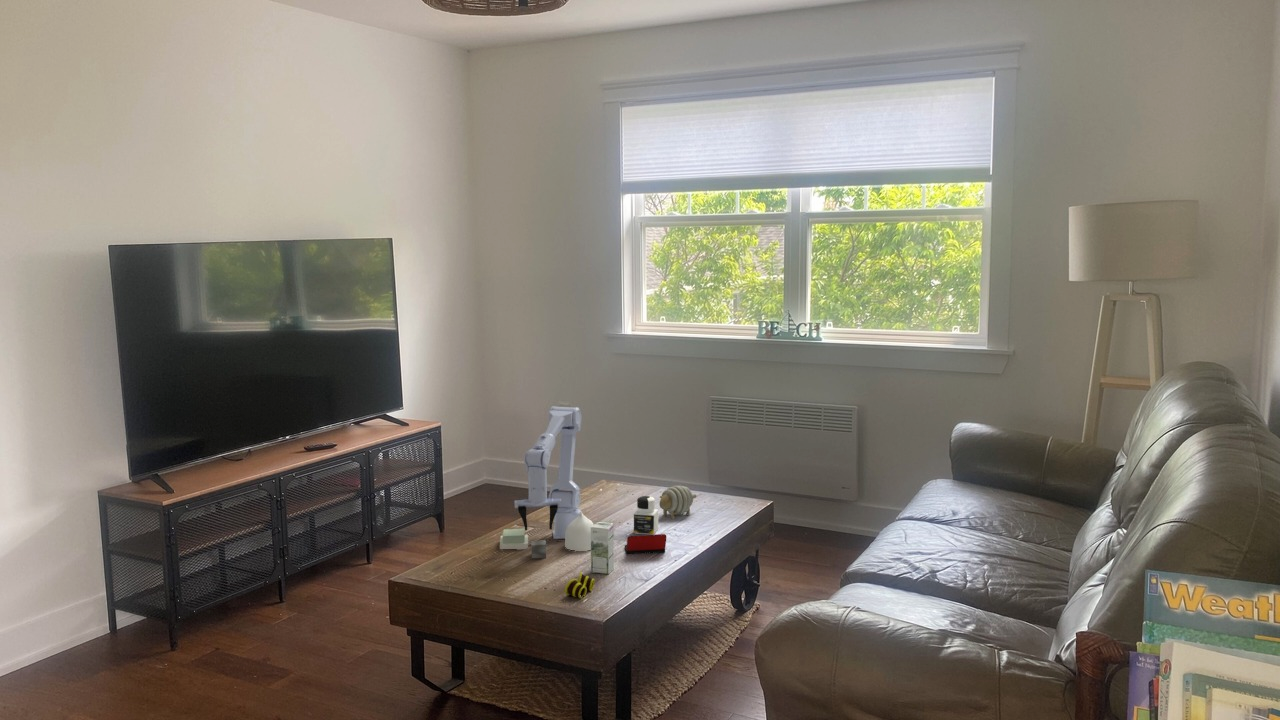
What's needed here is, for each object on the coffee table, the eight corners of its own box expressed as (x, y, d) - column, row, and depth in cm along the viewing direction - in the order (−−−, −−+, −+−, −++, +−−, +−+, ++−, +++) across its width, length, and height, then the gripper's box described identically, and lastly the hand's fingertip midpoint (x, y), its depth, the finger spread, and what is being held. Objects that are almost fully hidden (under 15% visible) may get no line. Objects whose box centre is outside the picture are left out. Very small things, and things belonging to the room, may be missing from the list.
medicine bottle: (633, 533, 306) (633, 499, 304) (638, 527, 313) (638, 494, 311) (653, 535, 304) (653, 500, 303) (658, 528, 311) (658, 495, 310)
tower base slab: (528, 542, 299) (527, 534, 299) (527, 550, 290) (527, 543, 290) (500, 543, 298) (500, 535, 298) (499, 552, 289) (499, 544, 289)
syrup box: (614, 568, 272) (614, 522, 270) (608, 575, 266) (608, 527, 264) (596, 566, 273) (596, 520, 272) (590, 573, 268) (589, 526, 266)
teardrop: (577, 539, 300) (577, 504, 299) (604, 544, 295) (604, 509, 293) (557, 548, 291) (557, 512, 290) (586, 554, 285) (585, 517, 284)
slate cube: (545, 553, 286) (545, 540, 285) (546, 558, 281) (545, 544, 281) (531, 554, 285) (531, 540, 285) (531, 559, 281) (531, 545, 280)
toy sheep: (651, 516, 325) (651, 487, 324) (683, 507, 337) (683, 479, 335) (671, 523, 318) (671, 492, 316) (704, 513, 329) (704, 484, 328)
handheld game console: (662, 546, 293) (662, 524, 293) (667, 557, 283) (667, 534, 282) (624, 547, 292) (623, 525, 291) (627, 558, 281) (627, 535, 280)
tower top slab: (525, 536, 298) (524, 528, 297) (524, 542, 291) (524, 535, 290) (503, 536, 297) (503, 529, 297) (502, 543, 290) (502, 536, 290)
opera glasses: (580, 603, 247) (583, 586, 246) (563, 597, 249) (566, 580, 248) (594, 591, 256) (597, 575, 255) (578, 585, 258) (581, 569, 257)
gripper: (514, 491, 276) (514, 533, 277) (561, 489, 278) (561, 531, 279) (514, 485, 283) (515, 526, 284) (560, 483, 285) (561, 525, 286)
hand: (538, 528), depth 282 cm, fingers open, 7 cm apart
